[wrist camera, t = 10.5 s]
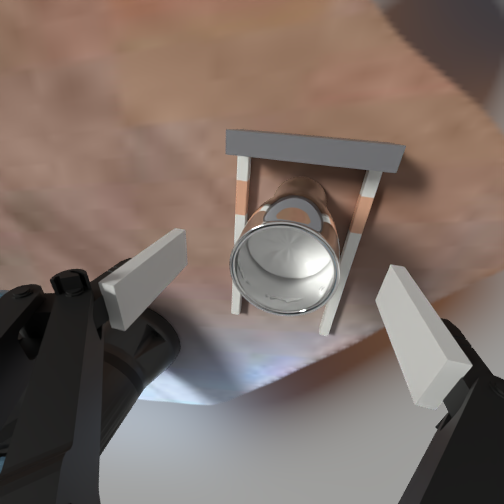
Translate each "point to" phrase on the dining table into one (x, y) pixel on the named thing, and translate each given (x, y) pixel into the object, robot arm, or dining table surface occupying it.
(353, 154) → the guide track
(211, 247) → the dining table surface
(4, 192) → the dining table surface
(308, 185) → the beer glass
